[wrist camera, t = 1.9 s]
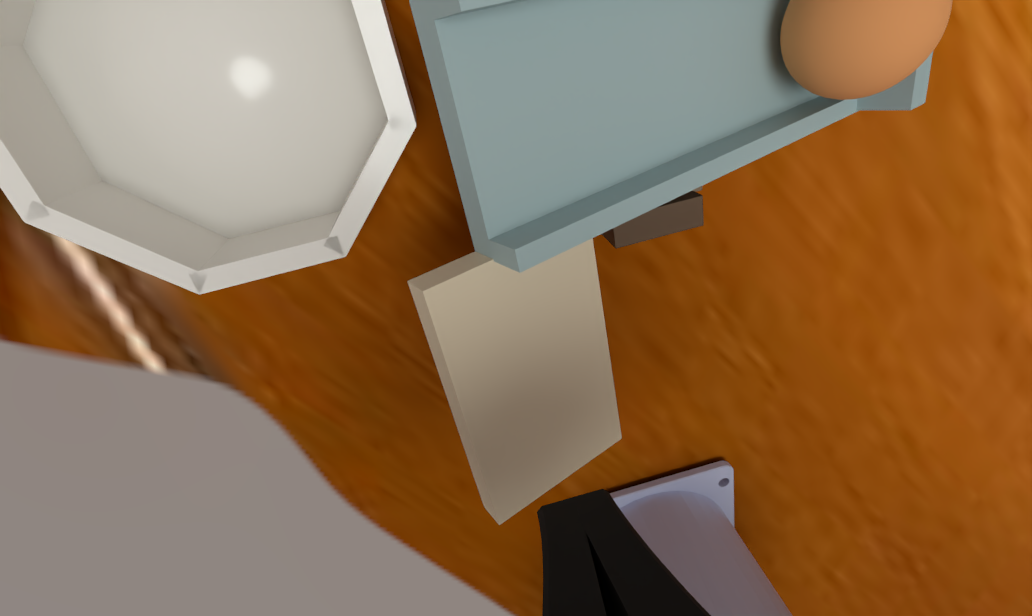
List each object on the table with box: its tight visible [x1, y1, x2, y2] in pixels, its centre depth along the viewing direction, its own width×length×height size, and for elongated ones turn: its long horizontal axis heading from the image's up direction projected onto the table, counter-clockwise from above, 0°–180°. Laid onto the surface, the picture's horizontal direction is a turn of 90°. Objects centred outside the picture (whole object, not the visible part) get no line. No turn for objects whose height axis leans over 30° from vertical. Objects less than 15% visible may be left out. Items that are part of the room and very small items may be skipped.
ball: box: [780, 0, 952, 100], centre depth 13 cm, size 4×4×4 cm
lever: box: [407, 0, 933, 525], centre depth 13 cm, size 12×15×3 cm
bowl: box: [0, 0, 416, 294], centre depth 13 cm, size 9×9×3 cm
